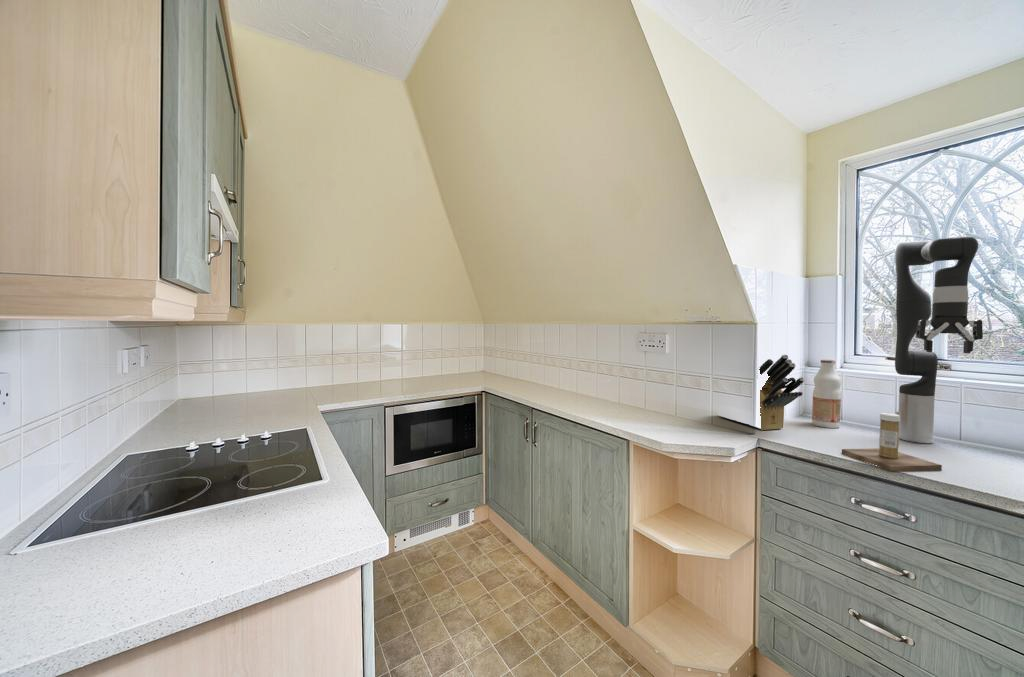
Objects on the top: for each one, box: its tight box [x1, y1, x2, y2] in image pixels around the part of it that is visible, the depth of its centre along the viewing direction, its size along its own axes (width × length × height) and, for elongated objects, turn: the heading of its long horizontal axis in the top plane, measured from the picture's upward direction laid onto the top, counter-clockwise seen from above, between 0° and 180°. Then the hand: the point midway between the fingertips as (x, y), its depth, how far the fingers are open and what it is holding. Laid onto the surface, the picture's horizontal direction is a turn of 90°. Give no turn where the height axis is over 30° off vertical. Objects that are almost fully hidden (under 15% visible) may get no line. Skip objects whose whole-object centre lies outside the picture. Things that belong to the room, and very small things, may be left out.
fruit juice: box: [811, 359, 842, 429], centre depth 168 cm, size 9×9×28 cm
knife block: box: [758, 354, 805, 431], centre depth 167 cm, size 11×35×31 cm, turn 13°
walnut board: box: [841, 447, 943, 472], centre depth 124 cm, size 16×16×2 cm
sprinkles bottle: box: [878, 412, 900, 459], centre depth 124 cm, size 5×5×13 cm
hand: (947, 352), depth 125 cm, fingers open, 8 cm apart
